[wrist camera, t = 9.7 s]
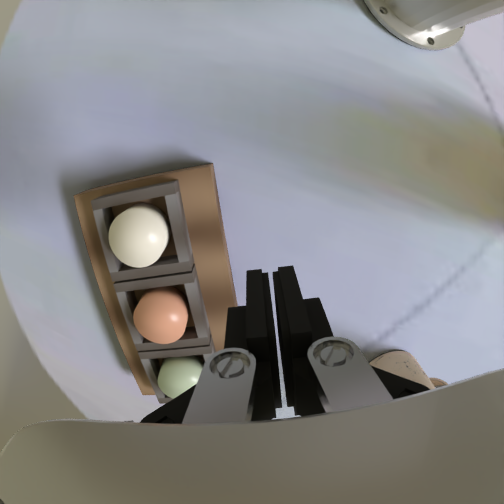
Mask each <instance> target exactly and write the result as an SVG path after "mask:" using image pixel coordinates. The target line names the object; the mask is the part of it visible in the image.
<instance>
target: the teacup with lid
mask: <svg viewBox="0 0 504 504" xmlns="http://www.w3.org/2000/svg"><path fill="white" fill-rule="evenodd" d="M369 364H370V365H371V366H374V367H376V368H379V369H382V370H384V371H387V372H390V373H392V374H395V375H398V376H400V377H403V378H406V379H409V380H411V381H414V382H417V383H420V384H422V385H424V386H426V387H428V388H429V389H431V390H432V389H435V387H436V386H443V385H448V384H447V383H446V382H444V381H443V380H440V379H438V378H428V376H427V375H426V373H425V372H424V371H423V369H422V368H421V366H420V365H419V363H418V362H417V361H416V359H415V358H414V357H413V356H412V355H411V354H410V353H408V352H405V351H392V352H388V353H385V354H383V355H381V356H379V357H377V358H375V359H374V360H372V361H371V362H370V363H369Z"/></svg>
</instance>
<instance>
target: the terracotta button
mask: <svg viewBox="0 0 504 504" xmlns="http://www.w3.org/2000/svg"><path fill="white" fill-rule="evenodd" d="M189 311H190V310H189V303H188V301H187V299H186V297H185V296H184V295H183V293H181V292H180V291H179V290H178V289H176V288H174V287H172V286H164V287H156V288H149V289H147V290H146V291H145V292H144V294H143V295H142V297H141V299H140V301H139V303H138V305H137V306H136V308H135V310H134V314H133V320H134V324H135V327H136V328H137V330H138V331H139V333H140V334H141V335H142V336H143V337H145V338H146V339H148V340H149V341H152V342H154V343H159V344H169V343H173V342H175V341H177V340H178V339H180V338H181V337H182V335H183V334H184V332H185V328H186V324H187V320H188V316H189Z"/></svg>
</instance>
